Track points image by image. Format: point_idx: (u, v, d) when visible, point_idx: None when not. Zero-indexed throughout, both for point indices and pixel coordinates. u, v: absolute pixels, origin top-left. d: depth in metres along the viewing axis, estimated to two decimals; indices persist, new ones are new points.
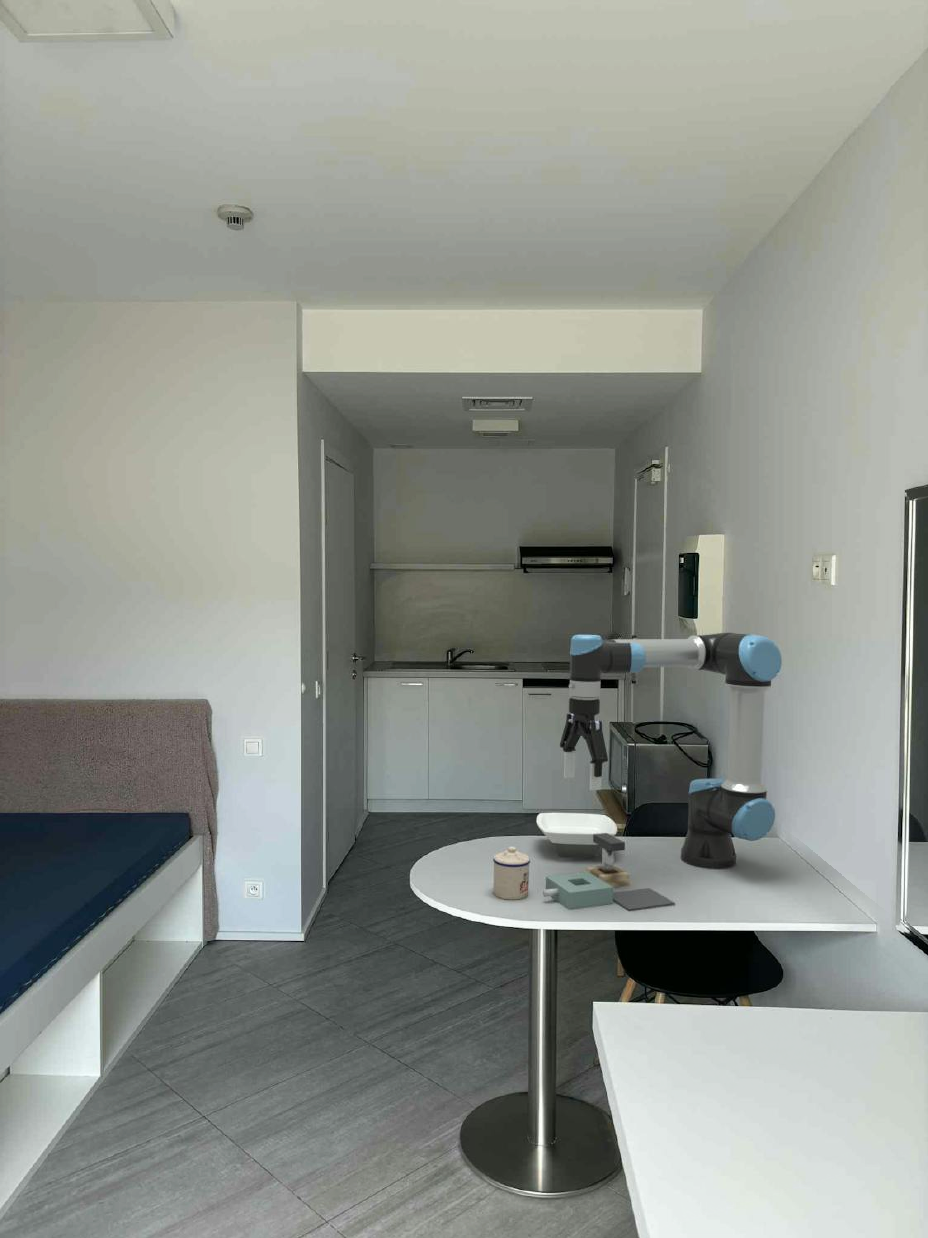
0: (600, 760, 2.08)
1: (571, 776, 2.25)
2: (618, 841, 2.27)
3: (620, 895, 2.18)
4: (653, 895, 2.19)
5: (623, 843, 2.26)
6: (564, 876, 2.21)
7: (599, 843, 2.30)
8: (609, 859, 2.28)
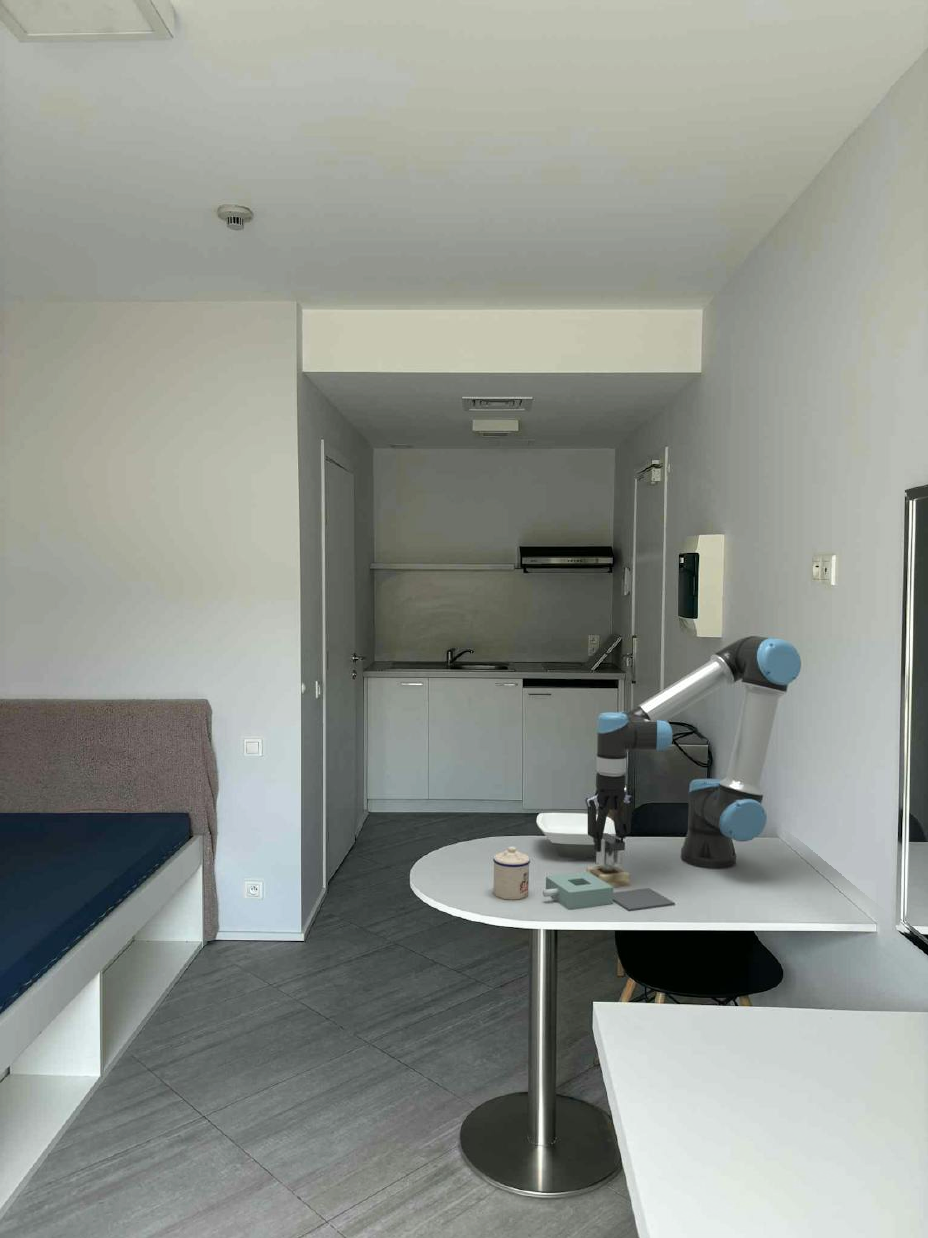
0: (588, 834, 2.28)
1: (615, 861, 2.30)
2: (618, 841, 2.27)
3: (620, 895, 2.18)
4: (653, 895, 2.19)
5: (623, 843, 2.26)
6: (564, 876, 2.21)
7: None
8: (609, 859, 2.28)
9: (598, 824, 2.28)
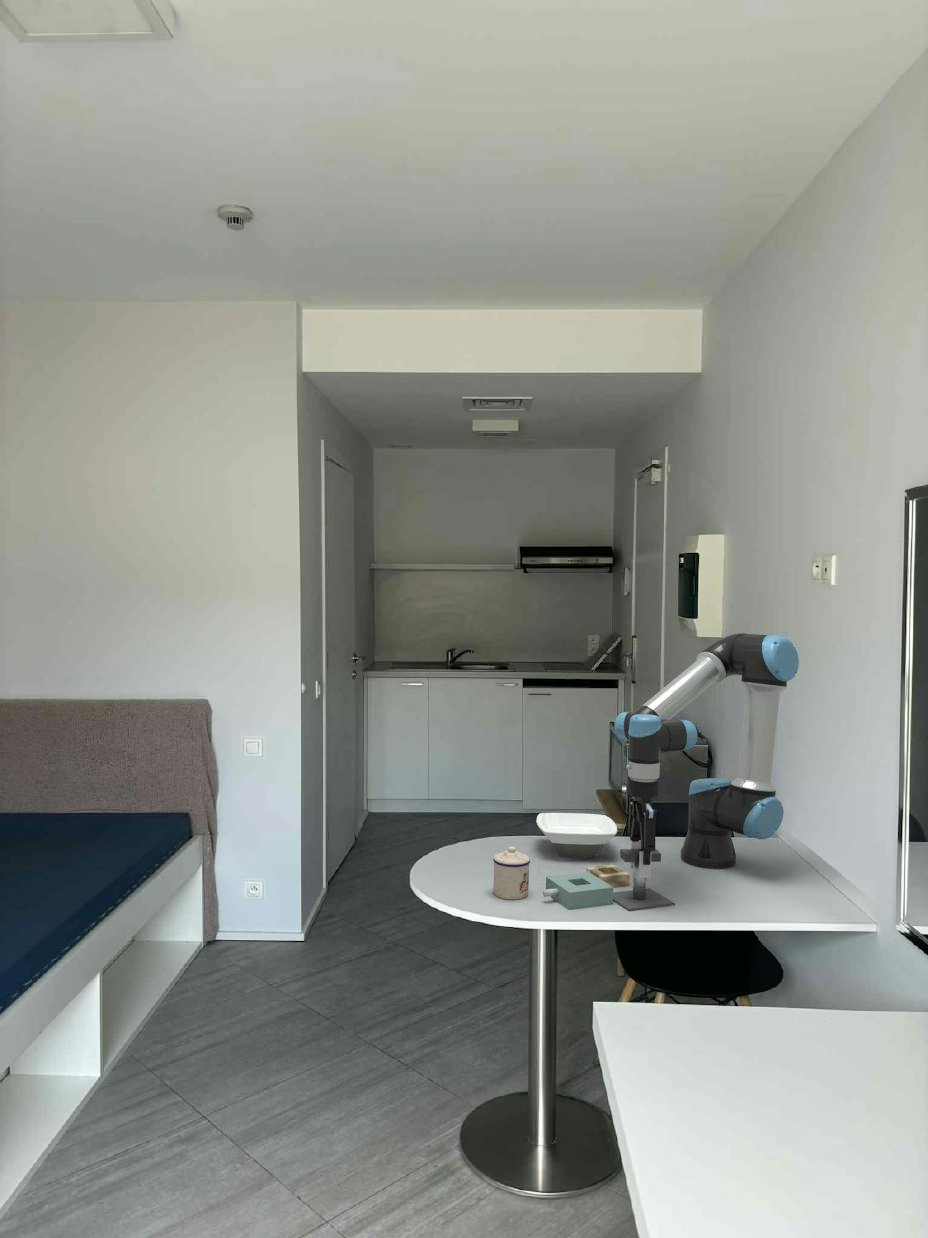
0: (647, 849, 2.10)
1: None
2: None
3: (620, 895, 2.18)
4: (653, 895, 2.19)
5: None
6: (564, 876, 2.21)
7: (637, 860, 2.15)
8: None
9: None
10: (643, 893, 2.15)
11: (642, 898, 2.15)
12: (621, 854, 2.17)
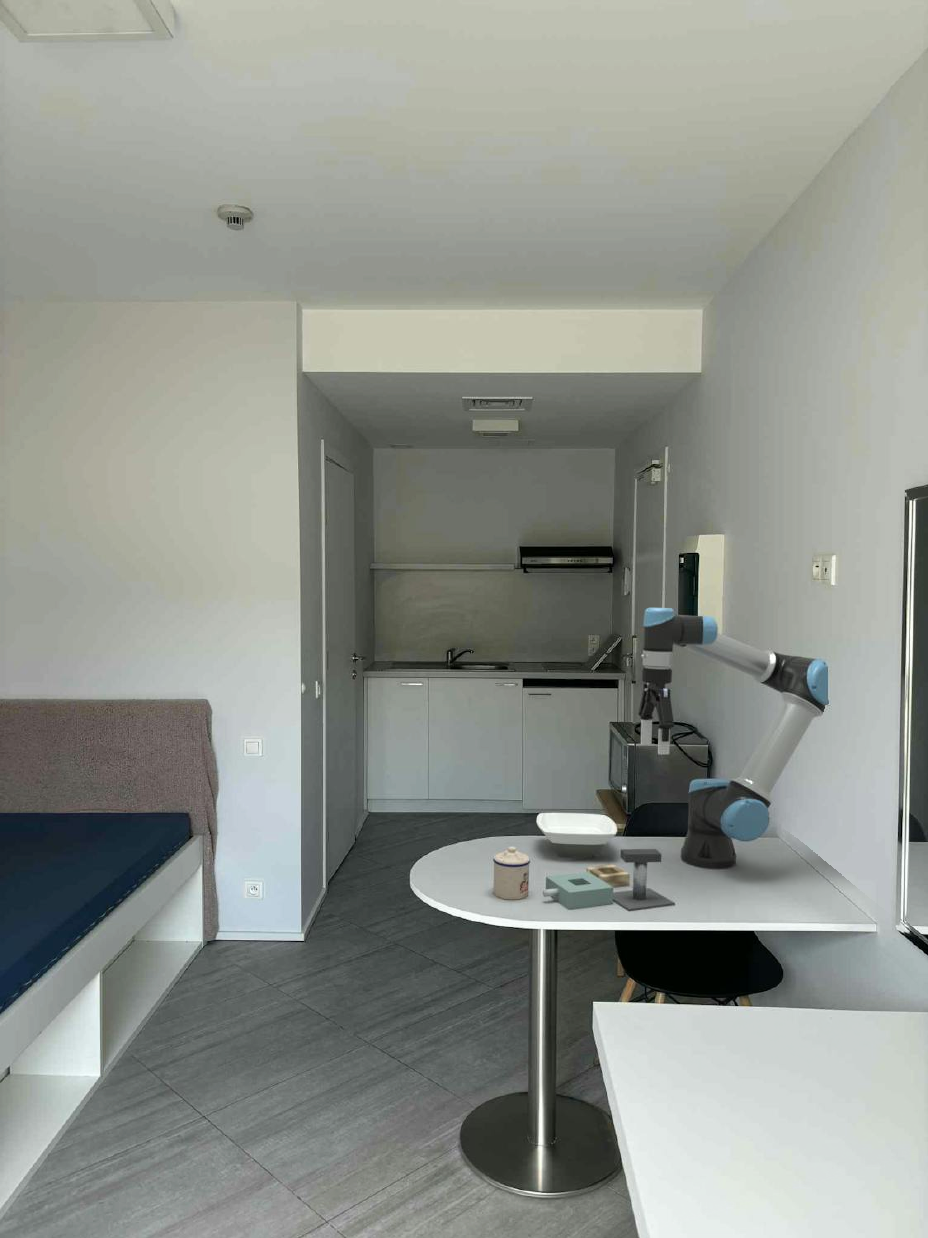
0: (666, 725, 2.19)
1: (648, 743, 2.36)
2: (651, 850, 2.18)
3: (620, 895, 2.18)
4: (653, 895, 2.19)
5: None
6: (564, 876, 2.21)
7: (638, 860, 2.14)
8: (646, 872, 2.16)
9: None
10: (643, 893, 2.15)
11: (642, 898, 2.15)
12: (621, 854, 2.17)
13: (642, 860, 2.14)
